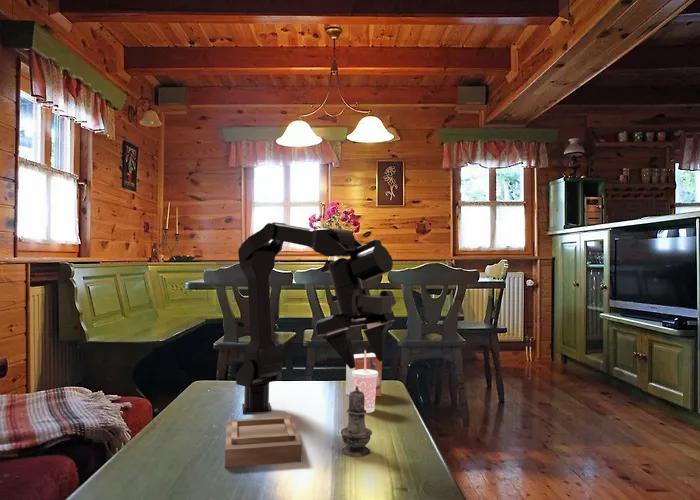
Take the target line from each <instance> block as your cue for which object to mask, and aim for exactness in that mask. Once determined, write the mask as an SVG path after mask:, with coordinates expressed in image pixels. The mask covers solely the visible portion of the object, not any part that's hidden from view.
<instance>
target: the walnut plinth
mask: <svg viewBox="0 0 700 500" xmlns="http://www.w3.org/2000/svg"><path fill="white" fill-rule="evenodd" d="M225 429H226V430H225V447H224V468H225V469H226V468H235V467H236V468H237V467H238V466H239V467H251V466H261V465H262V466H265V465H277V464H288V463H289V464H290V463H302V461H303V460H302V456H303V455H302V454H303V453H302V452H303V451H302V450H303V444H302V441H301V438H300V435H299V432H298V430H297V427H296V423H295V421H294V419H293V416H280V417H264V418H263V417H261V418H258V417H257V418H244V419H230V420H226V427H225Z"/></svg>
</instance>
